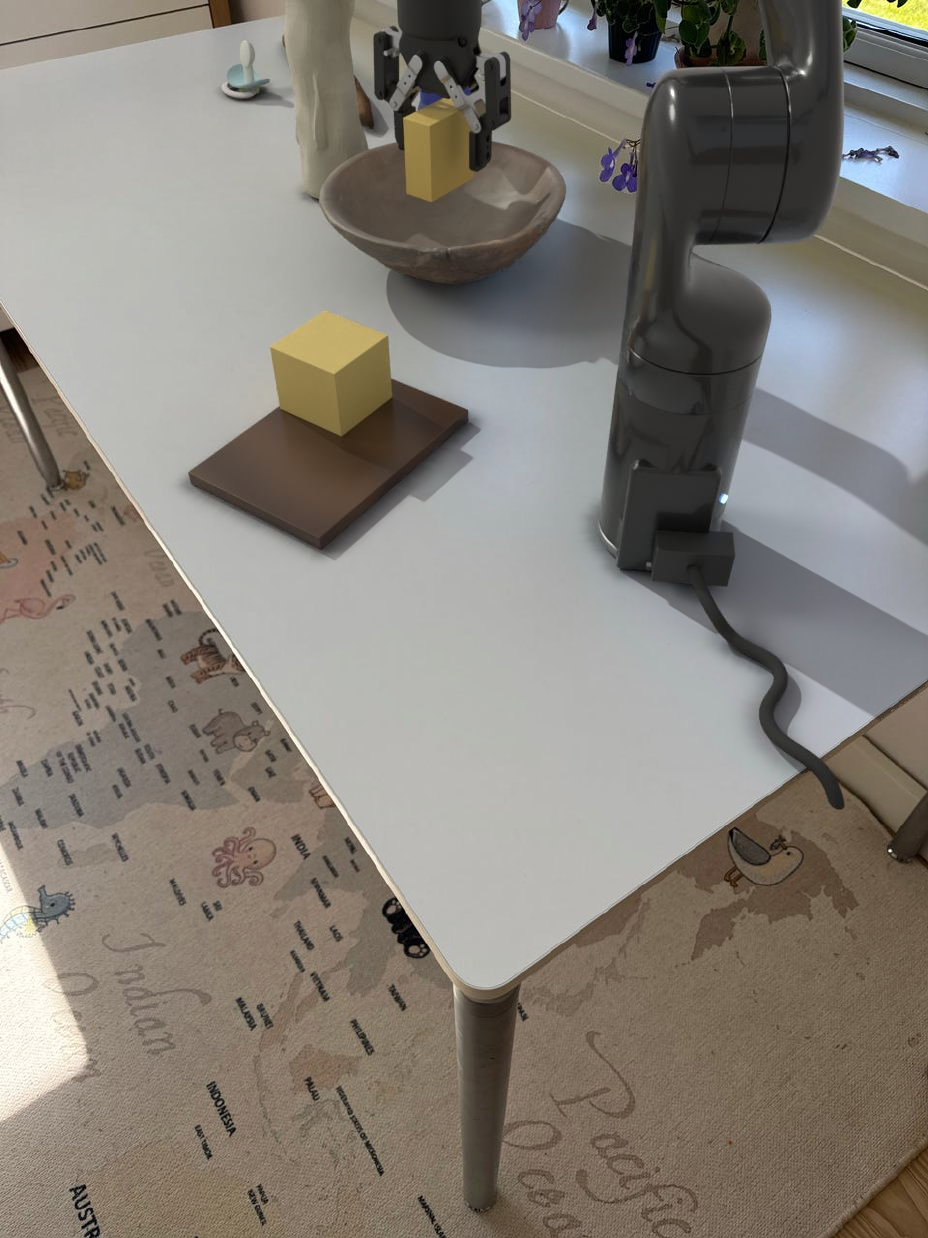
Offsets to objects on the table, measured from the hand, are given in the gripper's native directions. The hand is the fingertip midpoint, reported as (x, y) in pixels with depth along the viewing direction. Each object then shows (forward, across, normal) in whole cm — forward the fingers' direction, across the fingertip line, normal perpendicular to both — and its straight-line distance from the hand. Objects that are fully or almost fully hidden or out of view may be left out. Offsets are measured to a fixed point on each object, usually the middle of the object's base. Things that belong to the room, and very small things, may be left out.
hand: (442, 157), depth 99 cm
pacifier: (+11, +51, -24) cm, 58 cm away
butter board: (+11, -11, +31) cm, 35 cm away
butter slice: (+3, 0, 0) cm, 3 cm away
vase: (+11, +21, -7) cm, 25 cm away
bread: (+11, +44, -32) cm, 55 cm away
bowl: (+11, 0, 0) cm, 11 cm away
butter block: (+10, -8, +27) cm, 30 cm away
